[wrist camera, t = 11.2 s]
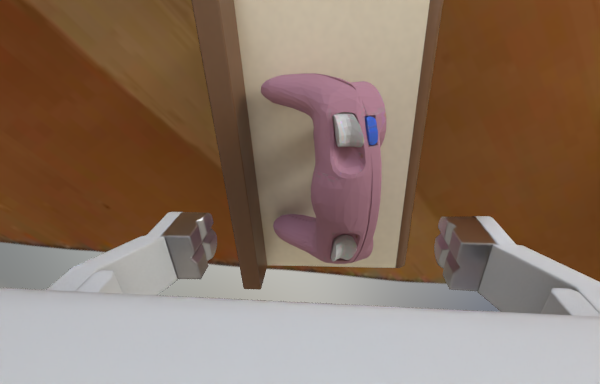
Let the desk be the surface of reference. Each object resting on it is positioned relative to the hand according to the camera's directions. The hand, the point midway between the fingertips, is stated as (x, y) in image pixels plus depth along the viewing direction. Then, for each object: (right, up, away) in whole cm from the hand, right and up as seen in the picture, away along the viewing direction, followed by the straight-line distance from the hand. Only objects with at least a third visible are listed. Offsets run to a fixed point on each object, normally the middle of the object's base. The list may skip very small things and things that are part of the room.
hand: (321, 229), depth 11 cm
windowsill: (+1, +8, +15) cm, 17 cm away
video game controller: (0, +3, +7) cm, 8 cm away
